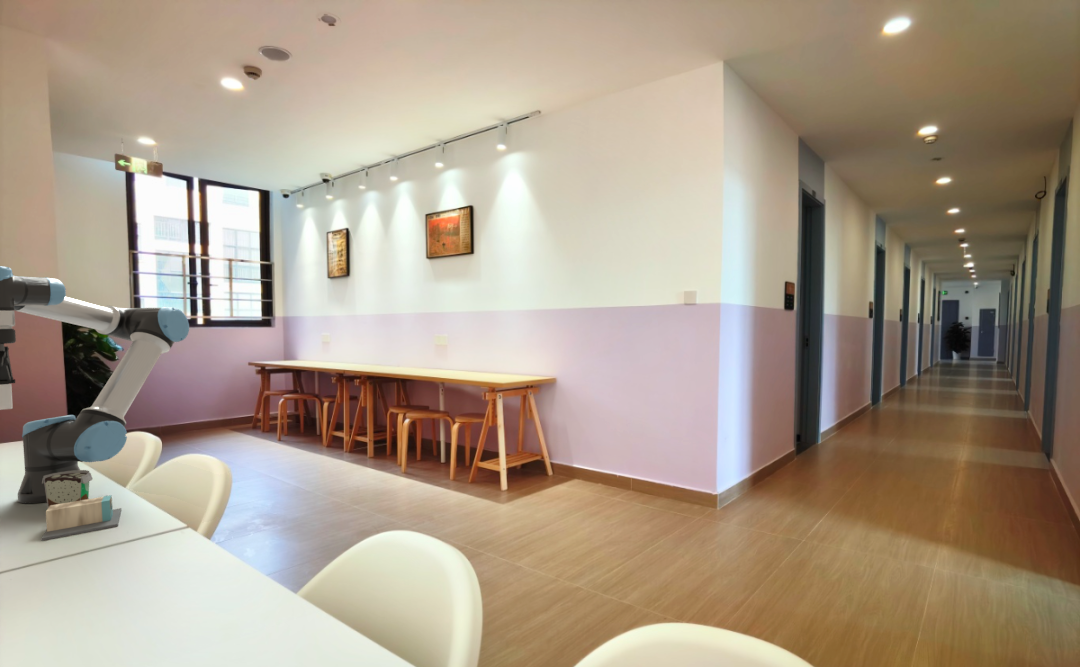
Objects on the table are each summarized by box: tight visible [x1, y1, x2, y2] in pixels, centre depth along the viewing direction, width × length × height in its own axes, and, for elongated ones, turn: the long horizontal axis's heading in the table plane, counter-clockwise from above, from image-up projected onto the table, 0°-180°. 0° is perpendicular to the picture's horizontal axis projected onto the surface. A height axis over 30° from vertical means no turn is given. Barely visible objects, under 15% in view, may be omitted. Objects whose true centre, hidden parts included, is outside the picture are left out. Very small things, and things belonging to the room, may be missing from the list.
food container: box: [42, 469, 93, 509], centre depth 146 cm, size 12×6×10 cm, turn 84°
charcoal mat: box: [40, 507, 122, 542], centre depth 135 cm, size 14×14×1 cm
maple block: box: [45, 494, 113, 532], centre depth 134 cm, size 5×5×12 cm
